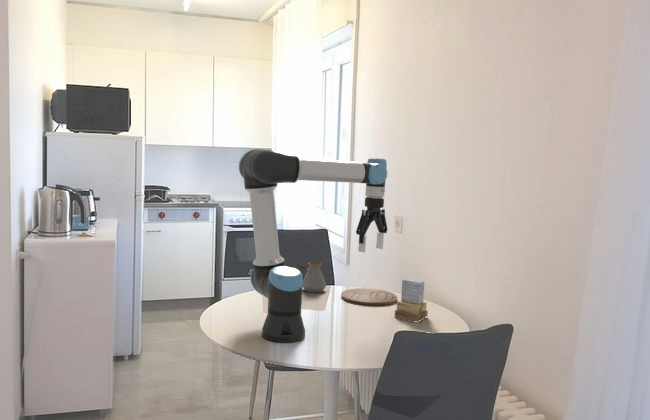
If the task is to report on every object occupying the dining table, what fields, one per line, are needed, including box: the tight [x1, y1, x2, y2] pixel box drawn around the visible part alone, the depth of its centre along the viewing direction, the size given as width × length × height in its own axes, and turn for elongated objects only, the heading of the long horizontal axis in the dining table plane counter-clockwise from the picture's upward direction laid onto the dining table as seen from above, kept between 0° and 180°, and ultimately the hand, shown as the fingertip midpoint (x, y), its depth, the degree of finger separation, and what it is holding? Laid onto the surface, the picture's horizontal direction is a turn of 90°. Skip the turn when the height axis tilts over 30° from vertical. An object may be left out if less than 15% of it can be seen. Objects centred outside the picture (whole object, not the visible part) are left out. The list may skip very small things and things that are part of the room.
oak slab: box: [396, 299, 427, 314], centre depth 228 cm, size 8×9×4 cm
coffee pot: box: [295, 261, 327, 294], centre depth 260 cm, size 21×12×15 cm, turn 148°
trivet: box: [340, 287, 398, 307], centre depth 255 cm, size 25×25×2 cm
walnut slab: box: [394, 309, 428, 323], centre depth 228 cm, size 9×10×4 cm
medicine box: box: [400, 278, 425, 304], centre depth 227 cm, size 8×4×9 cm, turn 55°
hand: (370, 250), depth 227 cm, fingers open, 13 cm apart
